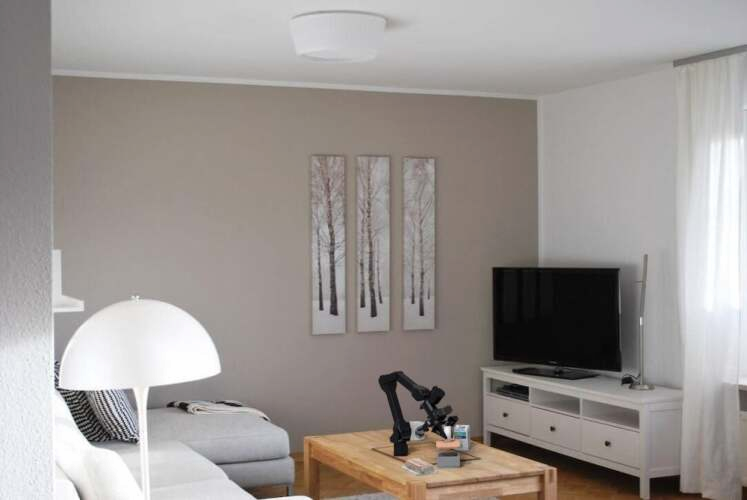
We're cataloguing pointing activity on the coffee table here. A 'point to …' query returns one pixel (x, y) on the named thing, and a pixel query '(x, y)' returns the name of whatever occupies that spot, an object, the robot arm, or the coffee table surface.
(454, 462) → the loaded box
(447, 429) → the lid
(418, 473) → the packaged product
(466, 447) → the light bulb box
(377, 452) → the coffee table surface
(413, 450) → the coffee table surface
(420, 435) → the mug
